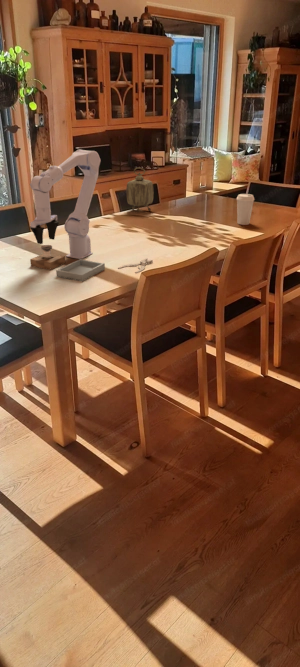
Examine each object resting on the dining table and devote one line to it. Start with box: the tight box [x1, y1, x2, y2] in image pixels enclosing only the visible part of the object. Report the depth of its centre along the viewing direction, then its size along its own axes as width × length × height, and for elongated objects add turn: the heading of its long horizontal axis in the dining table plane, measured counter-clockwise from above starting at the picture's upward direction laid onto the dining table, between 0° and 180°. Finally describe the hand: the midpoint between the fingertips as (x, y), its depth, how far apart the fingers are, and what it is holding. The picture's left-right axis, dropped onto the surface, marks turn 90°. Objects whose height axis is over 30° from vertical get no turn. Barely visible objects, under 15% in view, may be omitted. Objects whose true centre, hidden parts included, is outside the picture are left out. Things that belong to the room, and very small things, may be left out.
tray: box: [55, 258, 106, 282], centre depth 198 cm, size 16×12×2 cm
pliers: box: [117, 257, 154, 274], centre depth 206 cm, size 10×2×15 cm
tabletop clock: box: [125, 166, 155, 213], centre depth 293 cm, size 14×9×25 cm, turn 66°
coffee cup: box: [236, 193, 256, 226], centre depth 269 cm, size 10×10×15 cm
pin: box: [40, 244, 53, 260], centre depth 206 cm, size 4×4×8 cm
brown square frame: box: [30, 253, 66, 271], centre depth 207 cm, size 10×10×3 cm
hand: (46, 241), depth 203 cm, fingers open, 7 cm apart
